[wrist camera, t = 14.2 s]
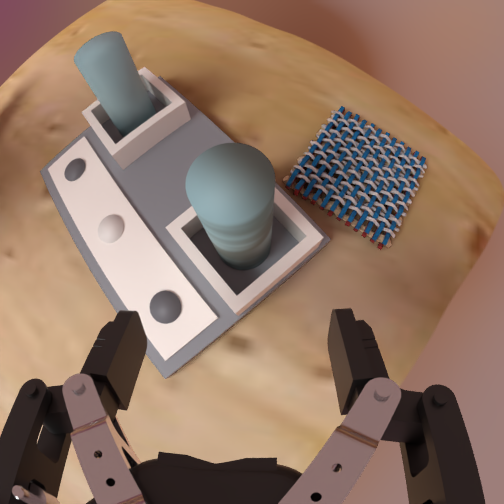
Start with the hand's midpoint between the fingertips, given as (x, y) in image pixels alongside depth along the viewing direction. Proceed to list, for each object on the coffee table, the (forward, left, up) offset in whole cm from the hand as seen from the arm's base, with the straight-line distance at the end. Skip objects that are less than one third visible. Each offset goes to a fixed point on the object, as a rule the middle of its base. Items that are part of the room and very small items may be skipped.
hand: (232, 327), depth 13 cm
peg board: (+1, +13, -11) cm, 17 cm away
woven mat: (+16, +3, -11) cm, 20 cm away
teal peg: (+4, +5, -10) cm, 11 cm away
